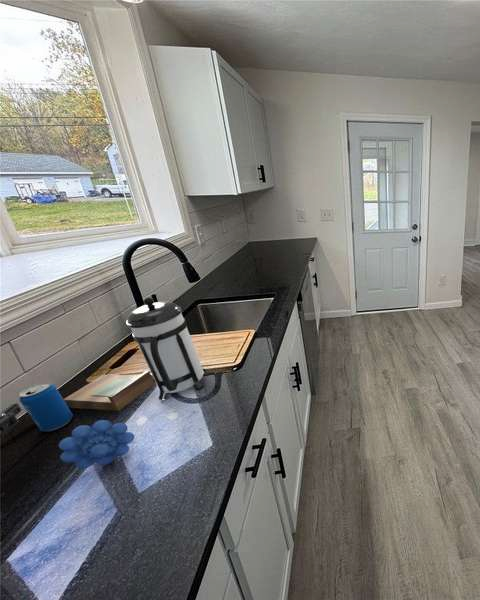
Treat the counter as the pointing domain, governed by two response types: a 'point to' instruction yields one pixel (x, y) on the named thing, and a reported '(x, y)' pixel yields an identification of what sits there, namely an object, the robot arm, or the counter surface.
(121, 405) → the shallow wooden tray
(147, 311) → the coffee press
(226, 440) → the counter surface
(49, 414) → the beverage can
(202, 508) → the counter surface
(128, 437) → the blue lobed cluster
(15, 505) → the counter surface
